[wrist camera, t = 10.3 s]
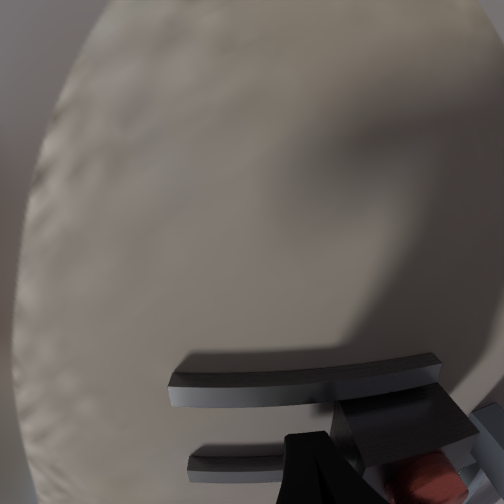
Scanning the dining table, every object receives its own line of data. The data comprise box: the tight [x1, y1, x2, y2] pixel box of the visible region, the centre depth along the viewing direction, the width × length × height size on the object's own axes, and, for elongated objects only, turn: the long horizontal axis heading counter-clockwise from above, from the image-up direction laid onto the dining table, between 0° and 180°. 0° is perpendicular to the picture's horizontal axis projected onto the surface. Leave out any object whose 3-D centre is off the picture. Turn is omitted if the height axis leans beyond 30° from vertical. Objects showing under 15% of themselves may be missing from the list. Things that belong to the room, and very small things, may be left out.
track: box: [168, 353, 443, 483], centre depth 10 cm, size 5×9×1 cm, turn 91°
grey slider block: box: [330, 382, 480, 504], centre depth 8 cm, size 3×4×5 cm, turn 92°
